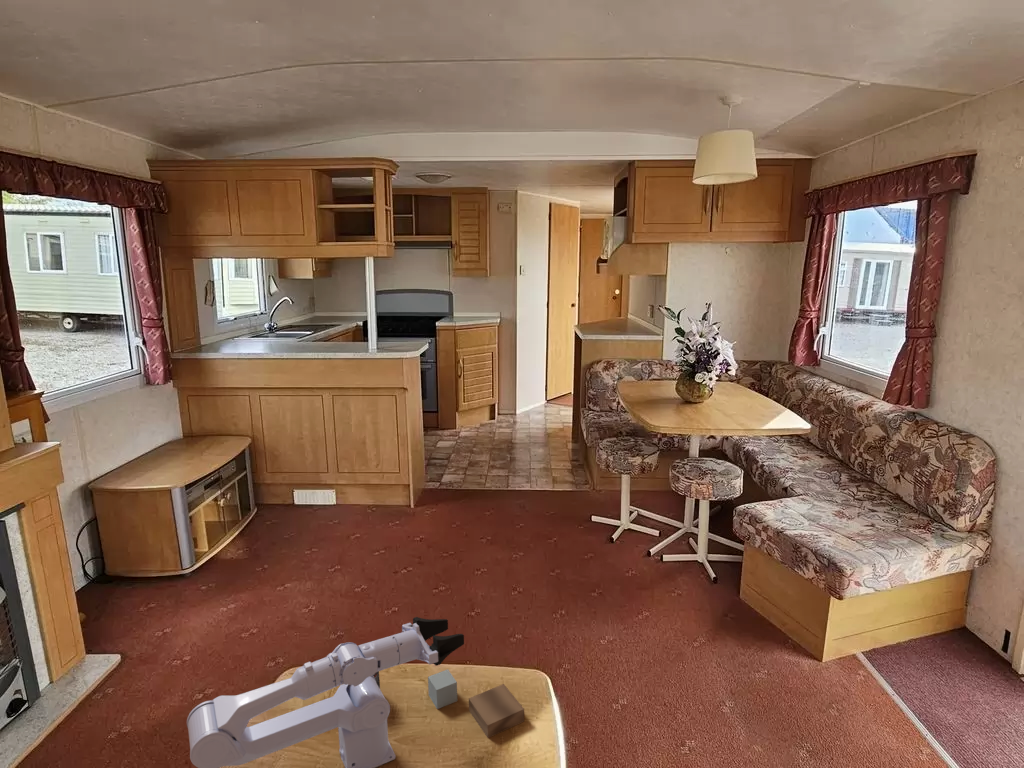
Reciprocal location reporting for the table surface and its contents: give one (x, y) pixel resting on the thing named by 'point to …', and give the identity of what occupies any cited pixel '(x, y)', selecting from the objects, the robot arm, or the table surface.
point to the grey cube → (442, 689)
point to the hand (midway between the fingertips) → (455, 631)
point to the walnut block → (496, 710)
